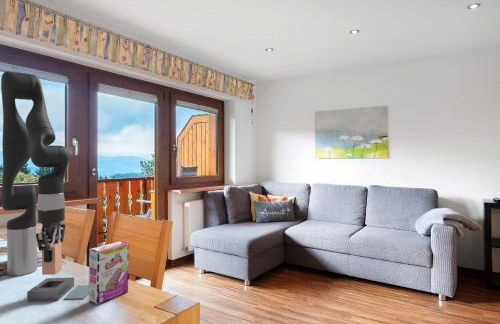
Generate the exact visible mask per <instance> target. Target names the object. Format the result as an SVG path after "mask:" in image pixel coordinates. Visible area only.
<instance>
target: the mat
mask: <svg viewBox="0 0 500 324" xmlns="http://www.w3.org/2000/svg"><path fill="white" fill-rule="evenodd" d="M87 296H89V284H82V285H77V286H76V287H75V288H74V289H73V290H71V291H70V292H69V293H68V294H67V295H66V296H65V297H63V300H64V301H65V300H66V301H67V300H69V301H70V300H84V299H85V298H86V297H87Z"/></svg>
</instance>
